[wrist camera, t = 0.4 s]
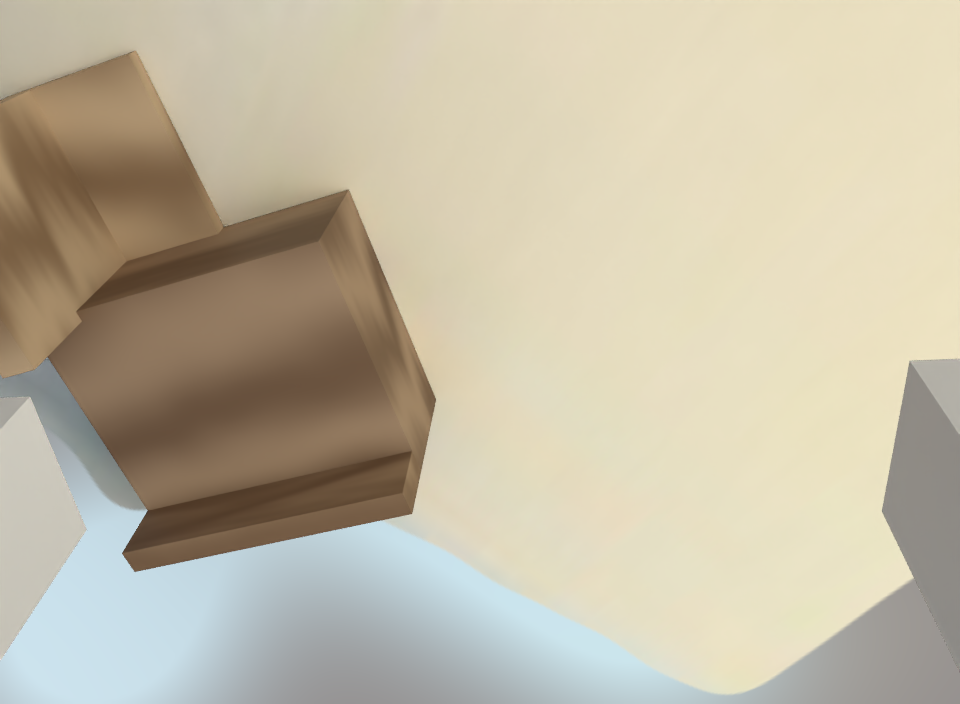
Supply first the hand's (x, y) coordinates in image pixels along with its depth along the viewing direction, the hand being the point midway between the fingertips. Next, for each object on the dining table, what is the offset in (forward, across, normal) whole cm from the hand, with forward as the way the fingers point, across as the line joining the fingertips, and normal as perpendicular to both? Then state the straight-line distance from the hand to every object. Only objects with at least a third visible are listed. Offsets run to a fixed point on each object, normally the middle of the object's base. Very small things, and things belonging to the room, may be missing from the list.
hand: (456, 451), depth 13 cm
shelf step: (+27, -14, -13) cm, 33 cm away
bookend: (+27, -19, -4) cm, 33 cm away
